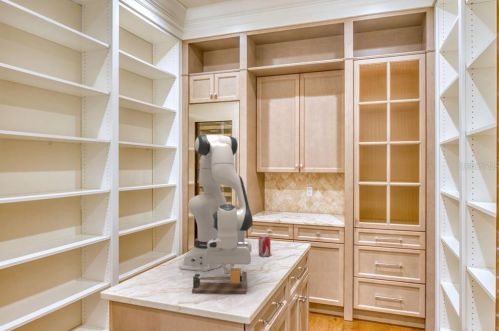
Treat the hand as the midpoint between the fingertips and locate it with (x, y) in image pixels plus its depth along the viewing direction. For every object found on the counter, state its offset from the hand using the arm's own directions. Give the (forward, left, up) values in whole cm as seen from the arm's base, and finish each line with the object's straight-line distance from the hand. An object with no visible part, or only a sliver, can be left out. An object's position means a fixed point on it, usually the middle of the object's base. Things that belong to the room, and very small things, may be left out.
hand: (228, 273), depth 144 cm
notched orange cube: (+3, 0, -3) cm, 5 cm away
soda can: (+15, +53, -7) cm, 56 cm away
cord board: (-3, 0, -7) cm, 8 cm away
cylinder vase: (-5, +74, -7) cm, 75 cm away
